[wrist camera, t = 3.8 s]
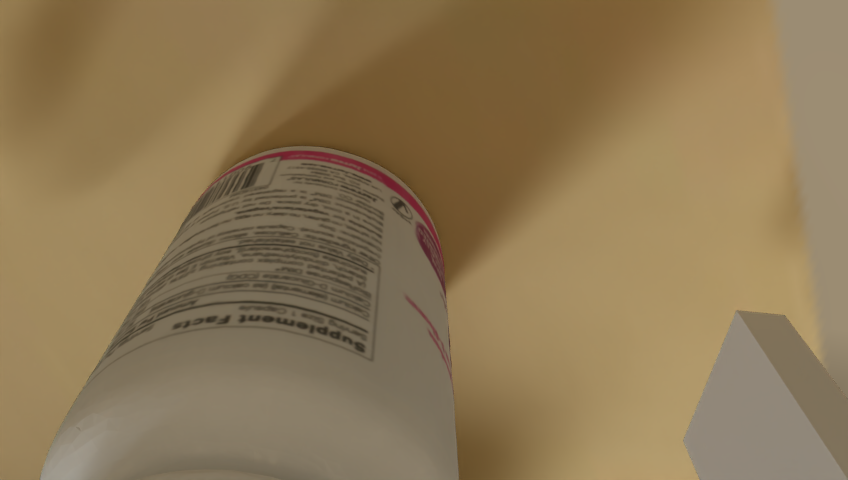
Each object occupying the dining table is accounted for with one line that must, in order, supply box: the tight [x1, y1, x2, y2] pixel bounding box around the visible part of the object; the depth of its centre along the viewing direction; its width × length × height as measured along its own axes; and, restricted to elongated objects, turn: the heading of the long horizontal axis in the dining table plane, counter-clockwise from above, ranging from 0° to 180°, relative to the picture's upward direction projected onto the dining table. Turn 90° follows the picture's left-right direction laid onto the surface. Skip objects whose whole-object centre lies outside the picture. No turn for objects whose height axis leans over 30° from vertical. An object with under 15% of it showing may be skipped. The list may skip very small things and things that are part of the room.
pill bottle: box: [40, 146, 459, 480], centre depth 10 cm, size 5×5×8 cm
